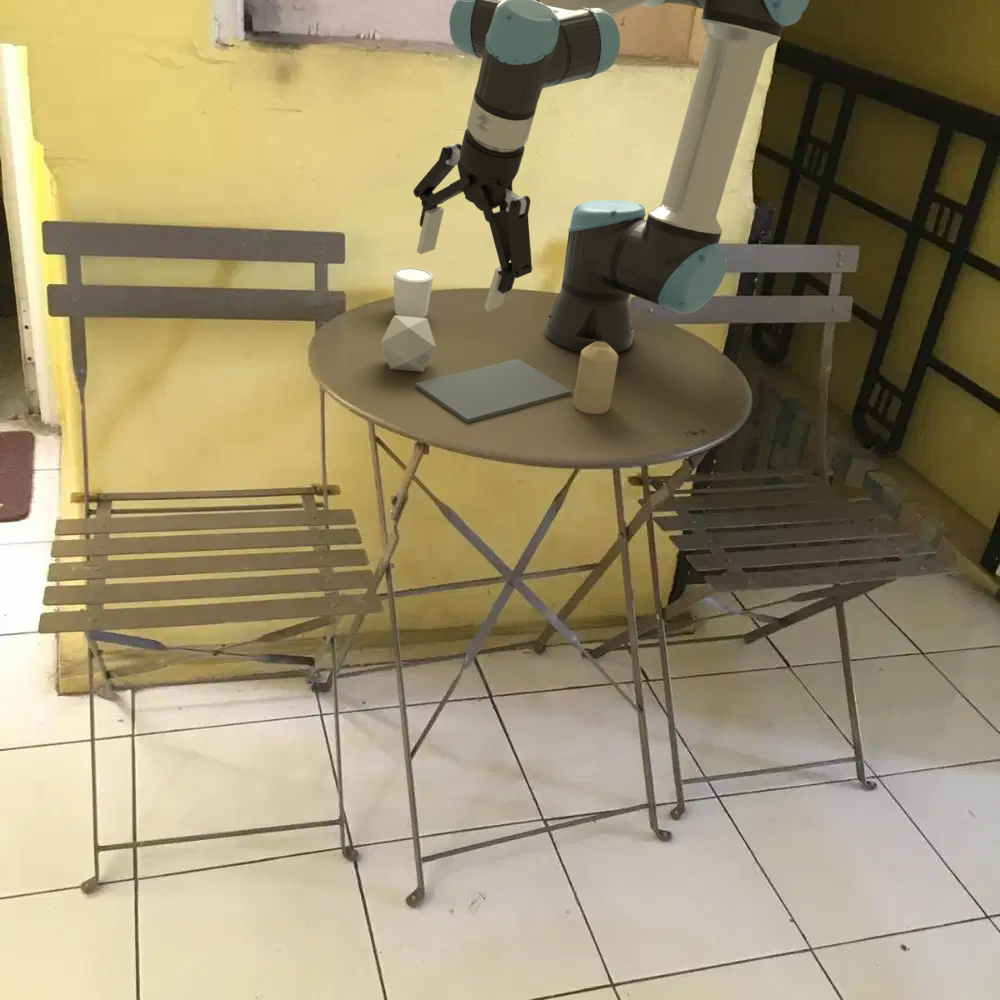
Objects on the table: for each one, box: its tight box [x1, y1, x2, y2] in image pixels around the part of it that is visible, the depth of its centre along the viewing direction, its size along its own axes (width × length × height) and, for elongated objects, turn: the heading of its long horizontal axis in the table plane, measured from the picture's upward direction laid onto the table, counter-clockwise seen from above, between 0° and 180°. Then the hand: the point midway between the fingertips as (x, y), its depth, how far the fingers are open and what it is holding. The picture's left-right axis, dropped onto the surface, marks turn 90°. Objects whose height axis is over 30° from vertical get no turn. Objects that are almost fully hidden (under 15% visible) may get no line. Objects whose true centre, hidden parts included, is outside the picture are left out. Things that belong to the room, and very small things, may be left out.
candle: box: [572, 342, 619, 415], centre depth 150 cm, size 6×6×10 cm
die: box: [380, 314, 436, 373], centre depth 156 cm, size 8×9×10 cm
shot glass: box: [392, 267, 434, 318], centre depth 175 cm, size 7×7×7 cm
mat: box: [415, 358, 573, 424], centre depth 154 cm, size 20×13×1 cm, turn 129°
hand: (458, 278), depth 138 cm, fingers open, 13 cm apart
